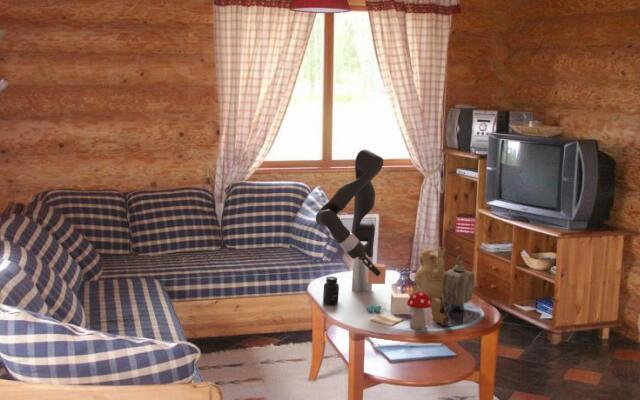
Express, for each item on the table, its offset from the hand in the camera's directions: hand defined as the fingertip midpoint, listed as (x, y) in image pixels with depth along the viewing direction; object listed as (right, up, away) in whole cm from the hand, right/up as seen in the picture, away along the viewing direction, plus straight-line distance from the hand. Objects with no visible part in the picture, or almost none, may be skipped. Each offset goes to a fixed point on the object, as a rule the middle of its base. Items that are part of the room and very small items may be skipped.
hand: (377, 272), depth 319 cm
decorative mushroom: (+15, -21, -15) cm, 30 cm away
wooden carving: (+25, -20, -8) cm, 33 cm away
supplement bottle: (-20, -15, +12) cm, 28 cm away
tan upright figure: (+27, -14, +31) cm, 44 cm away
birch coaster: (+3, -19, -9) cm, 21 cm away
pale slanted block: (+10, -18, +4) cm, 21 cm away
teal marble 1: (-3, -17, +2) cm, 18 cm away
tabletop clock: (+36, -18, +10) cm, 41 cm away
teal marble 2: (0, -17, +3) cm, 18 cm away
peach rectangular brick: (-1, -4, +1) cm, 4 cm away
